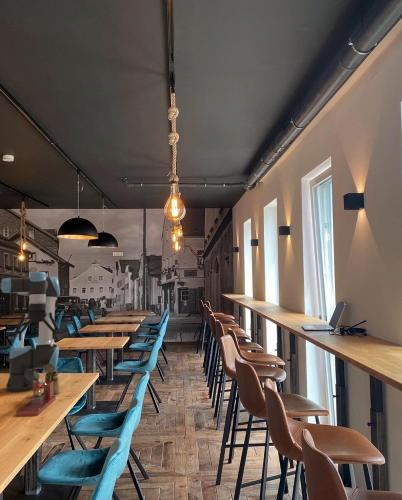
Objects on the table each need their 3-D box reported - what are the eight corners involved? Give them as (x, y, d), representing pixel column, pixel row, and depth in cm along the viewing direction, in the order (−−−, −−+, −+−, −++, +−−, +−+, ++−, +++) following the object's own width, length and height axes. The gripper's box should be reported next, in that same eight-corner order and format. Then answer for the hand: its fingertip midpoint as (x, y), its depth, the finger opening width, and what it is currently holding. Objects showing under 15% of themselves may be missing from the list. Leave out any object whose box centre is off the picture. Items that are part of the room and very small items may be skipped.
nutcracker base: (36, 400, 222) (36, 380, 222) (55, 399, 222) (55, 380, 223) (16, 415, 197) (16, 393, 197) (38, 415, 197) (38, 393, 198)
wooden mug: (39, 398, 225) (39, 363, 226) (44, 391, 238) (45, 358, 239) (56, 397, 226) (56, 363, 227) (61, 390, 239) (61, 358, 240)
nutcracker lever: (39, 389, 219) (40, 384, 220) (48, 389, 219) (48, 384, 220) (23, 375, 199) (24, 370, 201) (33, 375, 199) (34, 370, 201)
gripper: (9, 303, 206) (8, 348, 203) (63, 302, 212) (63, 345, 209) (12, 304, 213) (11, 347, 210) (64, 302, 219) (64, 344, 216)
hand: (37, 346), depth 210 cm, fingers open, 13 cm apart
